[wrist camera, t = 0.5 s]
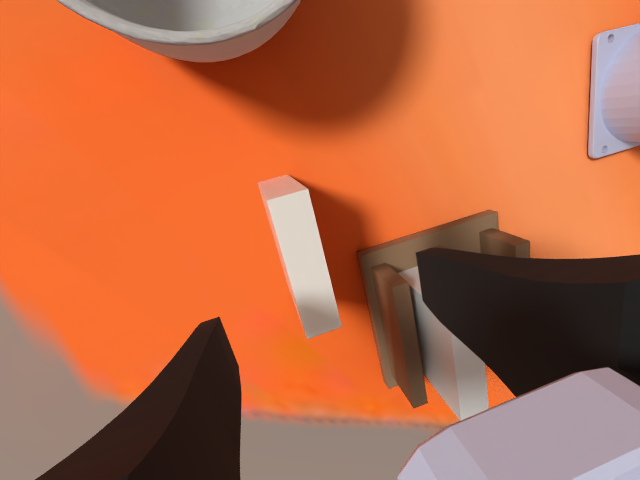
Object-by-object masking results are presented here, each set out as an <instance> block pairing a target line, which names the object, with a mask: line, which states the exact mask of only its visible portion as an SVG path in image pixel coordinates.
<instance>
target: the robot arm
mask: <svg viewBox="0 0 640 480" xmlns="http://www.w3.org/2000/svg"><path fill="white" fill-rule="evenodd" d="M607 39H608V40H607ZM639 145H640V23H638V24H634V25H630V26H625V27H621V28H617V29H613V30H609V31H604V32H601V33H598V34H597V35H596V36H595V37H594V39H593V42H592V64H591V90H590V115H589V141H588V155H589V157H590V158H600V157H603V156H607V155H610V154H613V153H616V152H620V151H623V150H626V149H629V148H633V147H636V146H639ZM416 258H417V265H418V272H419V279H420V286H421V293H422V300H423V302H424V303H425V305H426V306H427V307H428V308H429V310H430V311H431V312H432V313H433V315H434V316H435V317H436V318H437V319H438V320H439V321H440V322H441V323H442V324H443V325H444V326H445V327H446V328H447V329H448V330H449V331H450V332H451V333H452V334H453V335H455V336H456V337H457V338H458V339H459V340H460V341H461V342H462V343H463V344H464V345H466V346H467V347H468V348H469V349H470V350H471V351H472V352H473V353H474V354H475V355H477V356H478V357H479V358H480V359H481V360H482V361H483V362H484V363H485V364H486V365H487V366H488V367H489V368H490V369H491V370H492V371H493V372H494V373H495V374H496V375H497V376H498V377H499V378H500V379H501V380H502V382H503V383H504V384H505V385H506V386H507V387H508V388H509V389H510V391H511V392H512V393H513V394H514V395H515V396H516V398H513V399H511V400H509V401H506V402H504V403H501V404H499V405H497V406H494V407H492V408H489V409H487V410H485V411H482V412H480V413H478V414H475V415H473V416H470V417H468V418H466V419H463V420H461V421H459V422H456V423H454V424H451V425H449V426H447V427H445V428H443V429H442V430H440V431H439V432H437V433H436V434H434V435H433V436H431V437H430V438H429V439H427V440H425V441H424V442H422V443H421V444H419V445H418V447H417V448H416V449H415V451H414V452H413V454H412V455H411V456H410V458H409V459H408V461H407V462H406V463H405V465H404V466H403V468H402V469H401V471H400V473H399V475H398V479H397V480H640V255H630V256H620V257H607V258H590V259H534V258H518V257H508V256H498V255H490V254H482V253H475V252H468V251H461V250H454V249H446V248H428V249H425V250H422V251H419V252H416ZM240 429H241V384H240V375H239V366H238V363H237V361H236V358H235V356H234V353H233V351H232V348H231V345H230V343H229V340H228V338H227V335H226V333H225V330H224V327H223V325H222V322H221V320H220V317H217V318H214V319H211V320H208V321H205V322H202V323H200V324H199V325H198V327H197V328H196V329H195V330H194V332H193V333H192V334H191V335H190V337H189V338H188V339H187V341H186V342H185V343H184V345H183V346H182V347H181V348H180V350H179V351H178V352H177V353H176V355H175V356H174V357H173V359H172V360H171V361H170V362H169V363H168V364H167V366H166V367H165V368H164V369H163V370H162V371H161V373H160V374H159V375H158V376H157V377H156V378H155V379H154V381H153V382H152V383H151V384H150V385H149V386H148V387H147V388H146V389H145V390H144V391H143V392H142V393H141V394H140V395H139V396H138V397H137V398H136V399H135V400H134V401H133V402H132V403H131V404H130V405H129V406H128V407H127V408H126V409H125V410H124V411H123V412H122V413H120V414H119V415H118V416H117V417H116V418H115V419H113V420H112V421H111V422H110V423H109V424H107V425H106V426H105V427H104V428H103V429H102V430H101V431H99V432H98V433H97V434H96V435H95V436H94V437H92V438H91V439H90V440H88V441H87V442H86V443H85V444H83V445H82V446H81V447H79V448H78V449H77V450H76V451H74V452H73V453H72V454H70V455H69V456H68V457H66V458H65V459H64V460H62V461H61V462H59V463H58V464H57V465H55V466H54V467H53V468H51V469H50V470H48V471H47V472H46V473H44V474H43V475H41V476H40V477H38V478H37V479H35V480H240V431H241V430H240Z"/></svg>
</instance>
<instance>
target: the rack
mask: <svg viewBox="0 0 640 480" xmlns="http://www.w3.org/2000/svg"><path fill="white" fill-rule="evenodd" d="M428 248H446V249H454V250H461V251H468V252H475V253H482V254H490V255H498V256H508V257H518V258H530V241H528V240H525V239H522V238H519V237H517V236H514V235H511V234H508V233H505V232H502V231H499V230H498V212H495V211H492V210H487V211H484V212H481V213H477V214H474V215H471V216H468V217H465V218H462V219H458V220H455V221H452V222H449V223H446V224H443V225H440V226H436V227H433V228H430V229H427V230H424V231H421V232H417V233H414V234H411V235H408V236H405V237H402V238H398V239H395V240H392V241H389V242H386V243H383V244H380V245H376V246H373V247H370V248H367V249H364V250H361V251H357V256H358V261H359V266H360V270H361V275H362V280H363V285H364V289H365V294H366V299H367V304H368V308H369V313H370V318H371V323H372V327H373V332H374V337H375V342H376V346H377V351H378V356H379V361H380V365H381V370H382V375H383V380H384V383H385V384H386V386H387V387H388V389H389V388H392V387H394V386H397V385H399V387H400V388H401V390H402V391H403V393H404V394H405V396H406V397H407V399H408V400H409V402H410V403H411V405H412V406H413V408H416V407H419V406H421V405H424V404H426V403H428V401H427V395H426V389H425V382H424V376H423V375H424V374H423V370H422V364H421V357H420V351H419V345H418V338H417V332H416V326H415V320H414V313H413V307H412V301H411V294H410V288H409V282H408V281H406V280H405V279H404V278H403V277H402V276H400V275H399V274H398V273H399V272H402V271H405V270H408V269H411V268H414V267H417V266H418V265H417V258H416V252H419V251H422V250H425V249H428Z"/></svg>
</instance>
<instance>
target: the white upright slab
mask: <svg viewBox="0 0 640 480" xmlns="http://www.w3.org/2000/svg"><path fill="white" fill-rule="evenodd" d="M257 183H258V186H259V189H260V193H261V196H262V199H263V203H264V206H265V209H266V213H267V216H268V220H269V223H270V226H271V230H272V233H273V236H274V240H275V243H276V247H277V250H278V253H279V257H280V260H281V263H282V267H283V270H284V273H285V277H286V280H287V284H288V287H289V290H290V293H291V296H292V298H293V301H294V304H295V307H296V310H297V312H298V315H299V318H300V321H301V323H302V326H303V329H304V332H305V335H306V337H307V339H309V338H312V337H315V336H318V335H320V334H323V333H326V332H329V331H332V330H335V329H338V328H340V327H342V325H341V321H340V316H339V312H338V308H337V304H336V300H335V296H334V292H333V288H332V284H331V280H330V276H329V272H328V268H327V264H326V260H325V256H324V252H323V248H322V243H321V239H320V235H319V231H318V227H317V223H316V219H315V215H314V211H313V207H312V203H311V199H310V195H309V191H308V189H307V188H306V187H305V186H303V185H302V184H300V183H299V182H298V181H296V180H295V179H293V178H292V177H291V176H289V175H288V174H287V175H283V176H280V177H276V178H272V179H268V180H265V181H261V182H257Z"/></svg>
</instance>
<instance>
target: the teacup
mask: <svg viewBox="0 0 640 480" xmlns="http://www.w3.org/2000/svg"><path fill="white" fill-rule="evenodd" d="M57 1H58V2H60V3H61V4H63V5H64V6H65V7H67V8H69V9H71V10H72V11H74V12H76V13H77V14H79V15H81V16H82V17H84V18H86V19H88V20H90V21H92V22H94V23H96V24H98V25H101V26H103V27H105V28H107V29H109V30H111V31H114V32H115V33H117V34H119V35H120V36H122V37H124V38H126V39H128V40H129V41H131V42H133V43H135V44H137V45H139V46H141V47H143V48H145V49H148V50H150V51H153V52H155V53H158V54H160V55H164V56H167V57H170V58H174V59H179V60H184V61H191V62H217V61H224V60H229V59H233V58H236V57H239V56H242V55H244V54H246V53H249V52H251V51H253V50H255V49H256V48H258V47H260V46H261V45H262V44H264V43H265V42H267V41H268V40H269V39H271V38H272V37H273V36H274V35H275V34H276V33H277V32H278V31H279V30H280V29H281V28H282V27H283V26H284V25H285V23H286V22H287V21H288V20H289V18H290V17H291V16H292V14H293V13H294V11H295V10H296V8H297V7H298V5H299V4H300V2H301V0H57Z"/></svg>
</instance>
